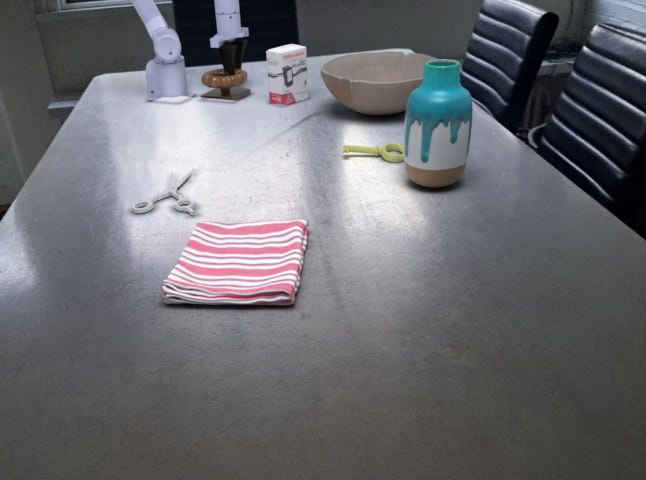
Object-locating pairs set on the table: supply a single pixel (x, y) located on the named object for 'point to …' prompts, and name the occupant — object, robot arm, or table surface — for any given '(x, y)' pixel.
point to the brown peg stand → (226, 92)
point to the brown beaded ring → (224, 78)
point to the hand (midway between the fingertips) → (233, 73)
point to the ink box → (287, 74)
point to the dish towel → (239, 264)
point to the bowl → (375, 80)
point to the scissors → (169, 191)
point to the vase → (438, 126)
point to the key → (378, 151)
